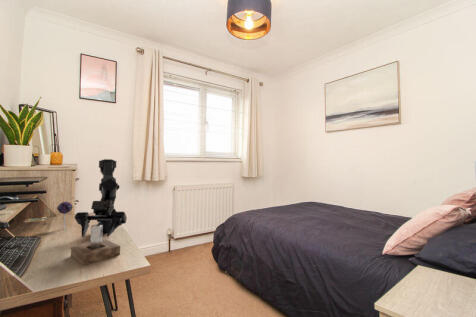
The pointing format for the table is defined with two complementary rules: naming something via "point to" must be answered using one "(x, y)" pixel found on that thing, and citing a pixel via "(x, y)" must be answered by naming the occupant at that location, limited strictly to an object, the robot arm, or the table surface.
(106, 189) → the robot arm
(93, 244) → the translucent grey tall block
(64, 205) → the lollipop
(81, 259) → the socket block
